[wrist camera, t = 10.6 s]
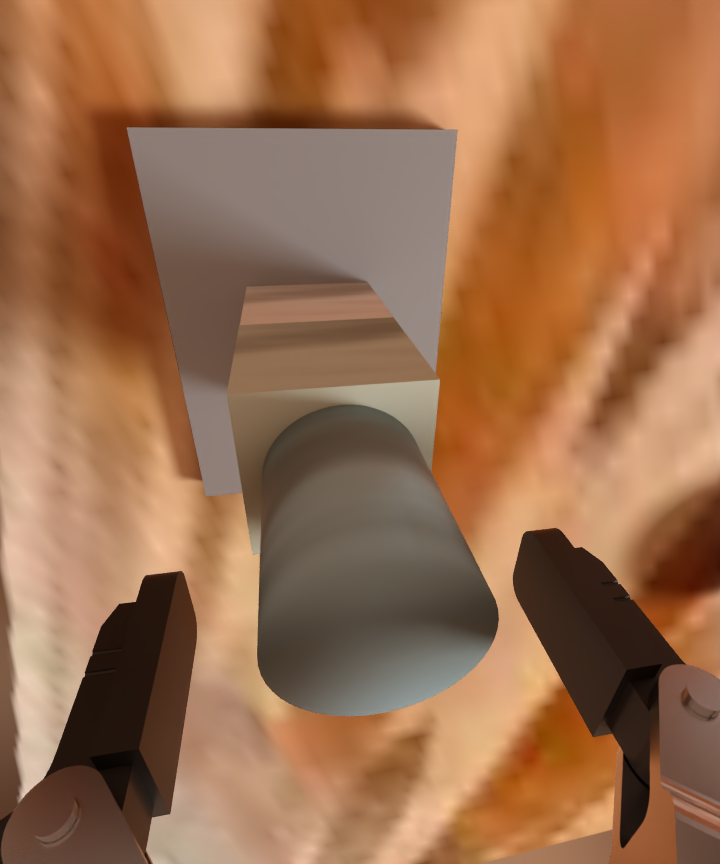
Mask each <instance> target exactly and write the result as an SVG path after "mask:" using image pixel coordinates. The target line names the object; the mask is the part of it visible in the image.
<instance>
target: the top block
mask: <svg viewBox="0 0 720 864" xmlns="http://www.w3.org/2000/svg"><path fill="white" fill-rule="evenodd" d="M439 384H440V379H439V378H438V376H437V375H436V374H435V372H434V371H433V369H432V368H431V367H430V365H429V364H428V363H427V361H426V360H425V359H424V357H423V356H422V355H421V353H420V352H419V351H418V349H417V348H416V347H415V345H414V344H413V343H412V341H411V340H410V339H409V337H408V336H407V335H406V333H405V332H404V331H403V329H402V328H401V327H400V325H399V324H398V323H397V321H396V320H395V318H394V317H391V318H371V319H351V320H332V321H312V322H292V323H272V324H252V325H239V329H238V335H237V340H236V346H235V351H234V356H233V362H232V367H231V373H230V378H229V384H228V389H227V394H226V395H227V401H228V407H229V413H230V419H231V425H232V431H233V437H234V443H235V449H236V456H237V462H238V468H239V474H240V480H241V486H242V492H243V498H244V504H245V511H246V517H247V523H248V529H249V535H250V541H251V547H252V553H253V555H255V554H260V540H261V504H262V473H263V465H264V462H265V458H266V455H267V453H268V451H269V449H270V447H271V446H272V444H273V442H274V441H275V439H276V438H277V437H278V436H279V435H280V434H281V432H282V431H284V430H285V429H286V428H287V427H288V426H289V425H290V424H292V423H293V422H295V421H296V420H298V419H299V418H301V417H303V416H305V415H307V414H309V413H311V412H314V411H316V410H319V409H323V408H327V407H331V406H338V405H361V406H367V407H371V408H375V409H378V410H381V411H383V412H386V413H388V414H389V415H391V416H393V417H395V418H396V419H397V420H399V421H400V422H401V423H402V424H403V425H404V426H405V427H406V428H407V429H408V430H409V431H410V433H411V434H412V435H413V437H414V439H415V441H416V443H417V445H418V447H419V449H420V451H421V453H422V455H423V457H424V459H425V461H426V463H427V465H428V467H429V469H430V471H431V468H432V457H433V447H434V437H435V426H436V416H437V405H438V395H439Z"/></svg>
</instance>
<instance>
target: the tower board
mask: <svg viewBox="0 0 720 864" xmlns="http://www.w3.org/2000/svg"><path fill="white" fill-rule="evenodd" d="M127 132H128V137H129V141H130V146H131V150H132V155H133V160H134V164H135V169H136V174H137V178H138V183H139V188H140V192H141V197H142V202H143V206H144V211H145V215H146V220H147V225H148V229H149V234H150V239H151V243H152V248H153V253H154V257H155V262H156V267H157V271H158V276H159V280H160V285H161V290H162V294H163V299H164V304H165V308H166V313H167V318H168V322H169V327H170V332H171V336H172V341H173V346H174V350H175V355H176V359H177V364H178V369H179V373H180V378H181V383H182V387H183V392H184V397H185V401H186V406H187V411H188V415H189V420H190V424H191V429H192V434H193V438H194V443H195V448H196V452H197V457H198V462H199V466H200V471H201V476H202V480H203V485H204V489H205V494H206V496H215V495H225V494H236V493H243V492H242V486H241V480H240V474H239V468H238V462H237V456H236V449H235V443H234V437H233V431H232V425H231V419H230V413H229V407H228V401H227V395H226V394H227V389H228V384H229V378H230V373H231V367H232V362H233V356H234V351H235V346H236V340H237V335H238V329H239V325H240V321H241V315H242V310H243V304H244V299H245V293H246V288H247V287H252V286H277V285H303V284H328V283H354V282H368V283H369V285H370V286H371V287H372V289H373V290H374V291H375V293H376V294H377V295H378V297H379V298H380V299H381V301H382V302H383V303H384V305H385V306H386V307H387V309H388V310H389V311H390V313H391V314H392V315H393V317H394V318H395V320H396V321H397V323H398V324H399V325H400V327H401V328H402V329H403V331H404V332H405V333H406V335H407V336H408V337H409V339H410V340H411V341H412V343H413V344H414V345H415V347H416V348H417V349H418V351H419V352H420V353H421V355H422V356H423V357H424V359H425V360H426V361H427V363H428V364H429V365H430V367H431V368H432V369H433V371H434V372H435V374H436V363H437V352H438V340H439V329H440V318H441V307H442V296H443V285H444V274H445V263H446V252H447V241H448V230H449V218H450V207H451V196H452V185H453V174H454V163H455V152H456V141H457V130H429V129H290V128H150V127H127Z"/></svg>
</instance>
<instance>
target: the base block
mask: <svg viewBox="0 0 720 864" xmlns="http://www.w3.org/2000/svg"><path fill="white" fill-rule="evenodd" d="M391 317H393V315H392V314H391V313H390V311H389V310H388V309H387V307H386V306H385V305H384V303H383V302H382V301H381V299H380V298H379V297H378V295H377V294H376V293H375V291H374V290H373V289H372V287H371V286H370V285H369V283H368V282H354V283H328V284H303V285H277V286H252V287H247V288H246V293H245V299H244V304H243V310H242V315H241V321H240V325H252V324H272V323H292V322H312V321H332V320H351V319H371V318H391Z"/></svg>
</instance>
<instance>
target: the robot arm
mask: <svg viewBox="0 0 720 864" xmlns="http://www.w3.org/2000/svg"><path fill="white" fill-rule="evenodd" d="M513 586H514V591H515V594H516V597H517V599H518V601H519V603H520V605H521V607H522V609H523V610H524V612H525V614H526V616H527V618H528V620H529V621H530V623H531V625H532V627H533V629H534V631H535V632H536V634H537V636H538V638H539V640H540V641H541V643H542V645H543V647H544V649H545V651H546V652H547V654H548V656H549V658H550V660H551V662H552V663H553V665H554V667H555V669H556V671H557V672H558V674H559V676H560V678H561V680H562V682H563V683H564V685H565V687H566V689H567V691H568V692H569V694H570V696H571V698H572V700H573V702H574V703H575V705H576V707H577V709H578V711H579V713H580V714H581V716H582V718H583V720H584V722H585V723H586V725H587V727H588V729H589V731H590V733H591V734H592V736H593V737H596V736H602V735H607V734H613V735H614V737H615V739H616V740H617V742H618V744H619V748H618V751H617V759H616V777H615V796H614V814H613V833H612V849H611V856H610V861H609V864H720V680H719V679H718V678H717V677H715V676H714V675H712V674H710V673H708V672H707V671H704V670H702V669H700V668H697V667H694V666H690V665H686V664H685V663H684V662H683V661H682V660H681V659H680V657H679V656H678V655H677V654H676V653H675V651H674V650H673V649H672V648H671V646H670V645H669V644H668V643H667V641H666V640H665V639H664V638H663V636H662V635H661V634H660V633H659V631H658V630H657V629H656V628H655V626H654V625H653V624H652V623H651V622H650V620H649V619H648V618H647V617H646V615H645V614H644V613H643V612H642V610H641V609H640V608H639V607H638V605H637V604H636V603H635V602H634V600H631V599H630V595H629V594H628V593H627V592H626V590H625V589H624V588H623V587H622V586H621V584H618V582H617V579H616V578H615V577H614V576H613V574H612V573H611V572H610V571H609V569H608V568H607V567H606V566H605V564H604V563H603V562H602V561H600V560H599V559H598V558H596V557H595V556H593V555H592V554H591V553H589V552H588V551H587V550H585V549H584V548H582V547H580V548H574V547H573V545H572V544H571V543H570V541H569V540H568V539H567V538H566V536H565V535H564V534H563V532H562V531H560V530H559V529H557V528H552V529H543V530H535V531H527V532H525V533H524V534H523V537H522V540H521V544H520V548H519V552H518V557H517V561H516V565H515V569H514V573H513ZM196 640H197V623H196V616H195V612H194V608H193V605H192V601H191V597H190V594H189V590H188V586H187V583H186V579H185V576H184V573H183V572H182V571H178V572H170V573H162V574H153V575H146V576H145V577H144V579H143V581H142V584H141V587H140V590H139V594H138V597H137V600H136V602H131V603H123V604H119V605H118V606H117V607H116V609H115V610H114V611H113V612H112V614H111V615H110V616H109V617H108V619H107V620H106V621H105V622H104V624H103V625H102V626H101V629H100V631H99V634H98V637H97V640H96V643H95V645H94V648H93V651H92V652H93V655H92V656H91V657H90V659H89V662H88V665H87V668H86V671H85V677H84V678H83V679H82V682H81V685H80V687H79V690H78V693H77V696H76V698H75V701H74V704H73V707H72V710H71V712H70V715H69V718H68V721H67V724H66V726H65V729H64V732H63V735H62V738H61V740H60V743H59V746H58V749H57V752H56V754H55V757H54V760H53V762H52V764H51V767H50V769H49V770H48V772H47V774H46V776H45V777H44V779H43V780H42V781H40V782H39V783H38V784H37V785H36V786H34V787H33V788H32V789H31V790H30V791H29V792H28V793H27V794H26V795H25V797H24V798H23V799H22V800H21V801H20V803H19V804H18V805H17V807H16V809H15V810H14V811H13V812H12V813H10V814H9V815H7V816H6V817H5V818H3V819H2V820H0V864H153V862H152V861H151V859H150V857H149V855H148V853H147V851H146V847H147V841H148V836H149V830H150V824H151V819H152V817H157V816H162V815H167V814H170V812H171V806H172V799H173V792H174V786H175V779H176V773H177V766H178V760H179V753H180V747H181V740H182V733H183V727H184V720H185V714H186V707H187V701H188V694H189V688H190V681H191V674H192V668H193V661H194V655H195V648H196Z"/></svg>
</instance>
